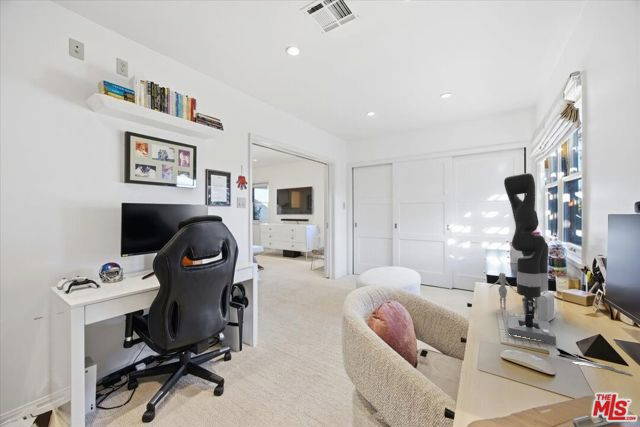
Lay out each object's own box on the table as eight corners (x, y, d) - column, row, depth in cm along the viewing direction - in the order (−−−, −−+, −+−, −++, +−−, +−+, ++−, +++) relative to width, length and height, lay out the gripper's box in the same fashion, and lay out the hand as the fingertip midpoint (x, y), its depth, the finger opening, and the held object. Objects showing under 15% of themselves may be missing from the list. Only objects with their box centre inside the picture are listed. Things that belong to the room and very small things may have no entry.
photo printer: (544, 314, 123) (543, 288, 123) (555, 317, 120) (555, 290, 120) (535, 319, 118) (535, 292, 118) (548, 323, 114) (547, 294, 114)
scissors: (634, 383, 74) (634, 375, 74) (539, 353, 90) (539, 347, 90) (632, 372, 79) (632, 364, 79) (543, 346, 95) (542, 340, 95)
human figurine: (518, 310, 129) (518, 274, 129) (516, 312, 126) (516, 275, 126) (490, 304, 138) (489, 270, 138) (488, 306, 135) (487, 271, 135)
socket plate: (506, 321, 116) (506, 312, 116) (548, 328, 109) (548, 319, 109) (508, 335, 103) (508, 325, 103) (555, 344, 95) (555, 334, 95)
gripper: (515, 278, 114) (516, 318, 114) (518, 286, 102) (518, 330, 102) (538, 280, 110) (538, 322, 110) (543, 288, 98) (543, 335, 98)
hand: (528, 325), depth 106 cm, fingers closed
